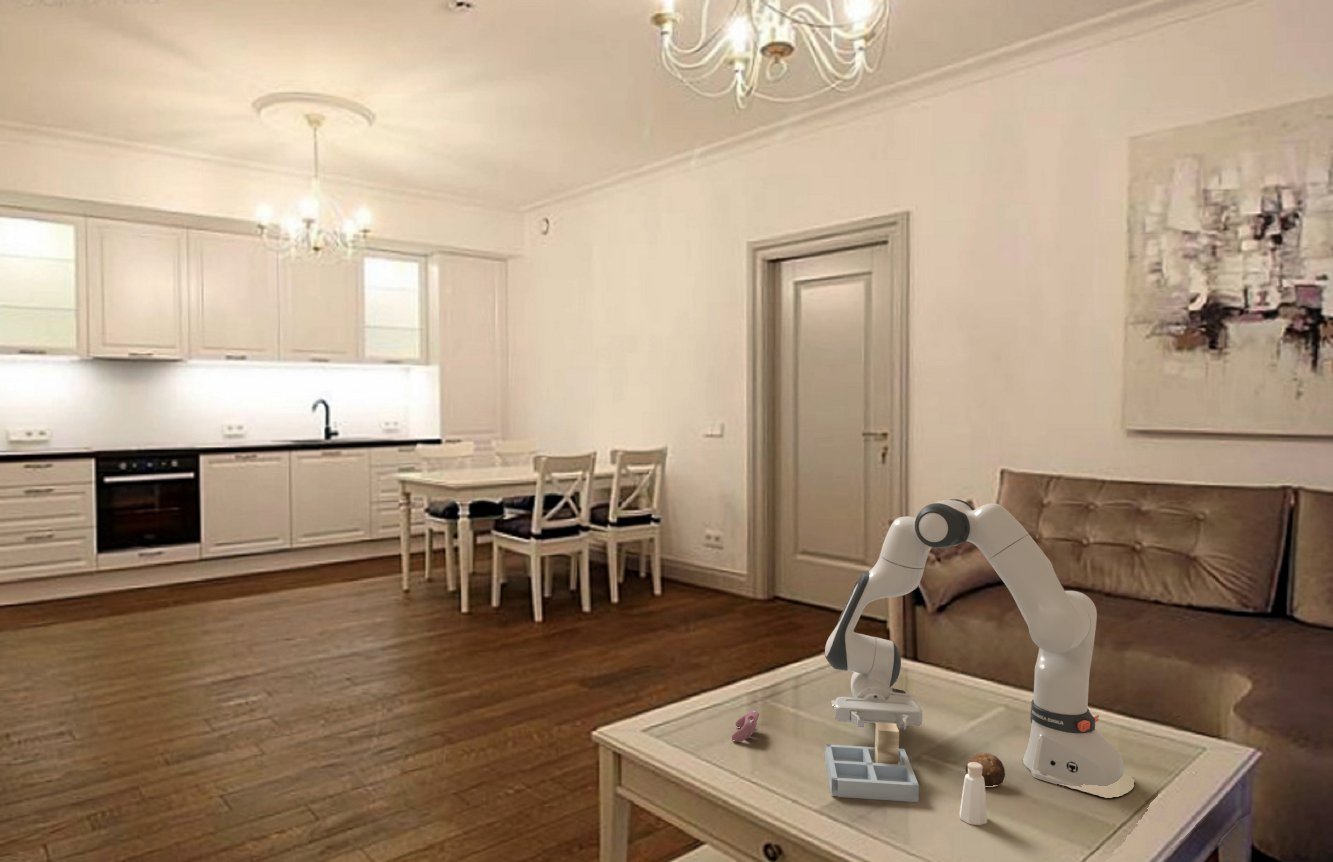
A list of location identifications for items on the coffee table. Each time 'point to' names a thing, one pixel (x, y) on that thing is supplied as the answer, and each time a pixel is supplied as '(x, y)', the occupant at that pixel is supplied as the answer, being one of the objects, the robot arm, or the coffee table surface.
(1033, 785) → the coffee table surface
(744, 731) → the video game controller
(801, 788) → the coffee table surface
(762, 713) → the coffee table surface
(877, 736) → the birch block
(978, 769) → the pepper shaker
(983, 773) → the mushroom
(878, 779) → the divided tray
